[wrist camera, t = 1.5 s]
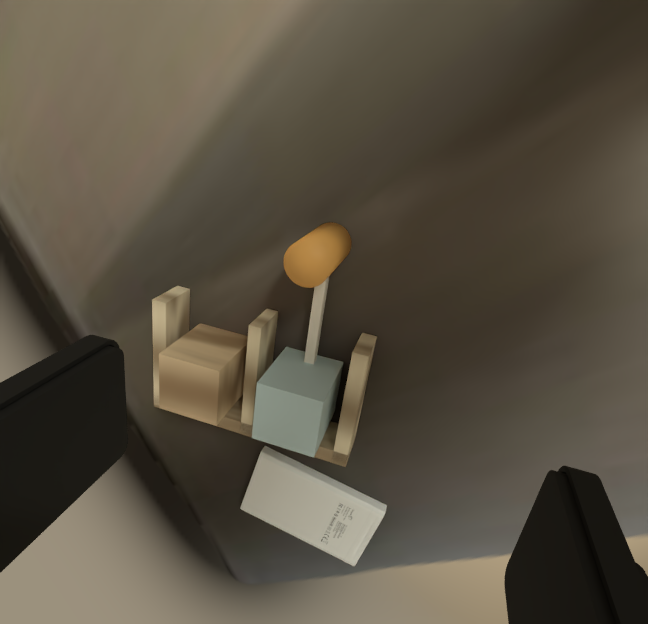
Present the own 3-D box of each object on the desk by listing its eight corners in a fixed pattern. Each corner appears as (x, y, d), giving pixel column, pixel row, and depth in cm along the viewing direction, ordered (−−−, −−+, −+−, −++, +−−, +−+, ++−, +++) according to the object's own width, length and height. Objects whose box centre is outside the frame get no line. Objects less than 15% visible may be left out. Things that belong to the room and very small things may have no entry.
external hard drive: (266, 441, 42) (388, 501, 41) (246, 498, 46) (356, 555, 44) (260, 452, 41) (385, 514, 39) (238, 510, 45) (353, 569, 43)
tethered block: (302, 216, 33) (270, 232, 27) (368, 229, 32) (349, 249, 26) (280, 396, 39) (251, 438, 34) (334, 412, 38) (314, 457, 33)
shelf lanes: (177, 285, 38) (152, 299, 35) (377, 336, 35) (368, 356, 32) (176, 385, 42) (153, 406, 39) (354, 439, 39) (345, 466, 36)
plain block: (200, 323, 39) (158, 353, 34) (253, 337, 38) (219, 371, 33) (198, 371, 41) (159, 408, 36) (248, 386, 40) (216, 426, 35)
